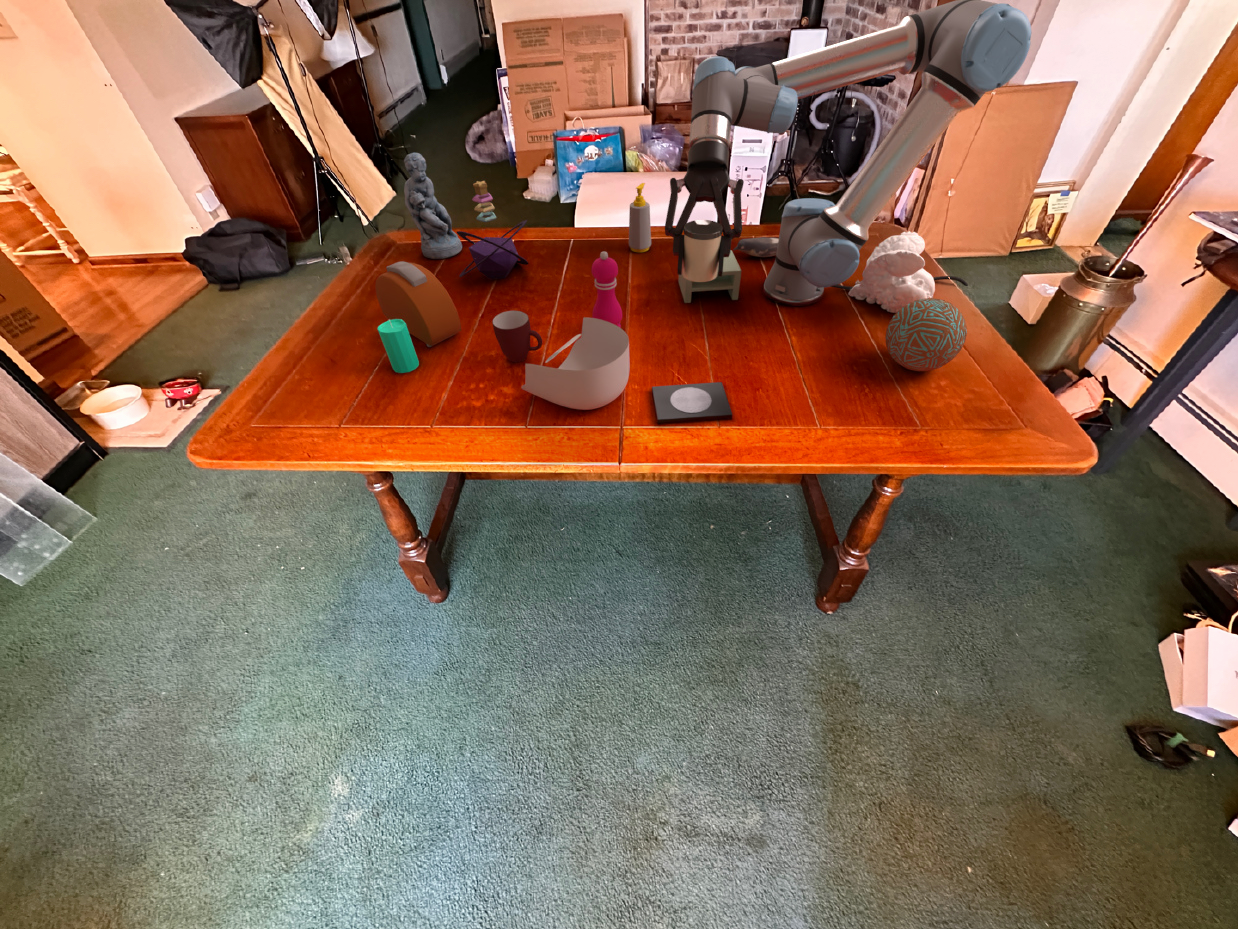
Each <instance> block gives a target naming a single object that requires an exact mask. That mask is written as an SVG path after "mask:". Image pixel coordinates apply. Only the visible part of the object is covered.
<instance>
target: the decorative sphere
mask: <svg viewBox="0 0 1238 929" xmlns="http://www.w3.org/2000/svg"><path fill="white" fill-rule="evenodd" d="M967 326H968V325H967V322H966V319H965V317H964V315H963V313H962V312H961V310H959V308H958V307H957V306H956V305H954V304H953V303H951V302H949V301H947V300H945V299H941V298H935V297H933V298H925V299H919V300H916V301H913V302H911V303H909V304H907V305H905V306H904V307H902V308H901V309H900V310H899V311H898V312H897V313H894V314H893V316H892V318H891V319H890V320H889V323H888V325H887V328H886V330H885V346H886V349H887V352H888V354H889V356H890V357H891V358H892V359H893V361H894V362H895V363H896V364H898V365H899V366H902V367H903V368H905V369H907V370H910V371H913V372H914V371H915V372H929V371H934V370H937V369H940V368H942V367H943V366H945V365H947V364H949V363H950V362H952V361H953V360H954V359H955V358H956V357H957V356H958V355H959V354H960V352H961V351H962V349H963V347H964V345H965V343H966V339H967V335H968V328H967Z"/></svg>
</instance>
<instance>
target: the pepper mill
mask: <svg viewBox="0 0 1238 929" xmlns="http://www.w3.org/2000/svg"><path fill="white" fill-rule="evenodd" d="M591 274H592V277H593V278H594V288H596V290H597V291H596V292H597V297H596V301H595V304H594V306H593V309H592V316H591V318H596V319H600V320H604V321H607V322H610V323H612V324H614V325H616V326H618V327H620V328H621V329H622V325H621V322H622V319H623V310H622V307H621V304H620V302H619V301H618V299H617V297H616V291H615V290H616V287H617V284H618V283H617V278H616V277H617V276H618V274H619V267H618V264H617V262H616V261H615V259H614V258H611V257H609V253H608V252H607V251H605V250H604V251H601V252H600V254H599V257H598V258H596V259H595V260H594V261H593V263H592V265H591Z"/></svg>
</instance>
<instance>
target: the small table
mask: <svg viewBox="0 0 1238 929" xmlns="http://www.w3.org/2000/svg"><path fill="white" fill-rule="evenodd" d="M718 265H719V263H718ZM677 279H678V280H677V281H678V286H679V288H680V292H681V295H682V299H683V302H684V304H691V303H692V292H706V291H708V292H709V291H710V292H711V291H722V290H724V291H725V290H726V291H727V292H728V294H729V297H730V299H731V301H738V300H739V294H740V286H741V279H742V269H741V266H740V265H739V263H738V261H737V259H736V256H735V254H734V252H733V249H732V250H731V251H730V255H729V257H724V262H723V273H722V276H718V273H717V277H716V278H715V279H713V280H711V281H707V282H694V281H690V280H687V279H685V278H684V277H683V276H682V275H678V278H677Z"/></svg>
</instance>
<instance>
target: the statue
mask: <svg viewBox="0 0 1238 929" xmlns="http://www.w3.org/2000/svg"><path fill="white" fill-rule="evenodd" d="M403 162H404V167H405V169H406V172H408V174H409V176H410V177H409V178H408V179H406V181H405V183H404V187H403V188H404V189H403V191H404V205H405V207H406V209H407V210H408V211H409V213H410V217H412V221H413V223H414V225H415V227H416V228H417V229H418V231H419V233H420V243H421V245H420V249H421V252H422V255H423V256H424V257H425V258H426V259H430V260H443V259H449V258H451V257H454V256H457V254H459V253H460V252H461V251H462V250H463V244H462V242H461V239H460V238H459V235H458V234H457V232H455V231H453V227H452V226H453V225H452V223H453V222H452V219H451V216H450V214H449V213H448V211H447V209H446V207H445V206H444V205H443V204H441V203H440V202H438V199H437V198H436V196H435V189H434V188H435V187H434V183H433V181H432V179H431V178H429V177H428V176H427V173H426V171H427V161H426V159H425V157H423V155H422V154H421V153H419V152H411V153H409V154H407V155H406V156H405V157H404V159H403Z"/></svg>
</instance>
